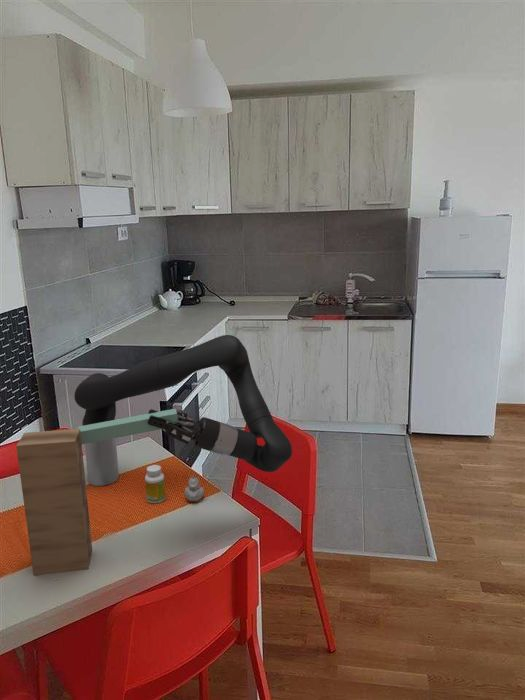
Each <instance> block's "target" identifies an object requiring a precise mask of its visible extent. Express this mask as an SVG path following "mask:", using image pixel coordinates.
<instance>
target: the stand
mask: <svg viewBox="0 0 525 700" xmlns="http://www.w3.org/2000/svg"><path fill="white" fill-rule="evenodd" d="M16 453H17V461H18V469H19V475H20V478H19V479H20V484H21V491H22V492H21V493H22V500H23V507H24V514H25V523H26V528H27V535H28V542H29V550H30V551H29V552H30V556H31V564H32V565H31V566H32V574H33V576H40V575H49V574H58V573H65V572H66V573H67V572H73V571H75V572H76V571H81V570H89V568H90V564H91V560H92V559H91V558H92V554H93V545H92V544H93V543H92V535H91V532H92V531H91V525H90V514H89V512H90V511H89V504H88V494H87V484H86V474H85V472H86V471H85V466H84V465H85V463H84V454H83V444H82V443H81V433H80V429H77V428H71V429H59V430H58V429H56V430H46V431H42V430H41V431H30V432H23V435H22V436H21V438H20V439H19V441H18V442H17V444H16Z"/></svg>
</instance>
